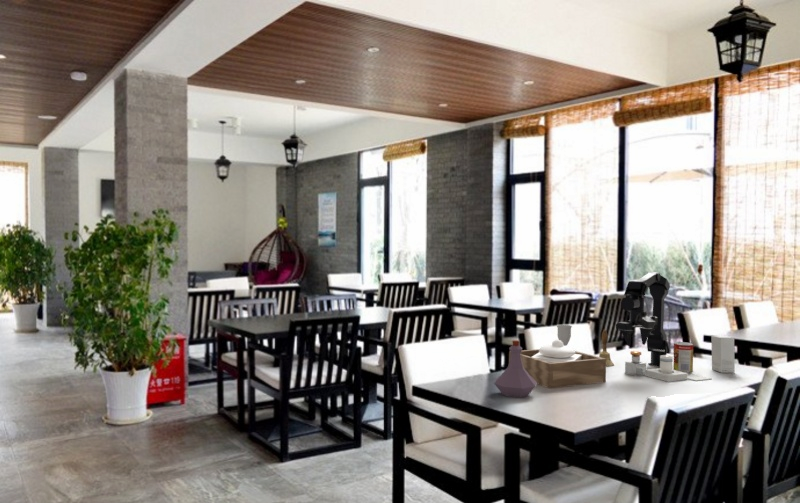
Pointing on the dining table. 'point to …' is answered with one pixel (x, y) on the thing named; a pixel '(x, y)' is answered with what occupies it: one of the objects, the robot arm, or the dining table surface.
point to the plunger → (635, 356)
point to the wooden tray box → (564, 370)
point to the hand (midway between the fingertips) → (636, 345)
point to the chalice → (564, 333)
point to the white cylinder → (666, 363)
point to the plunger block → (635, 368)
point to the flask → (515, 376)
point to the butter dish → (557, 353)
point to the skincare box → (723, 353)
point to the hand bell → (605, 350)
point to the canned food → (683, 357)
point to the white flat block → (666, 375)
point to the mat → (697, 377)
